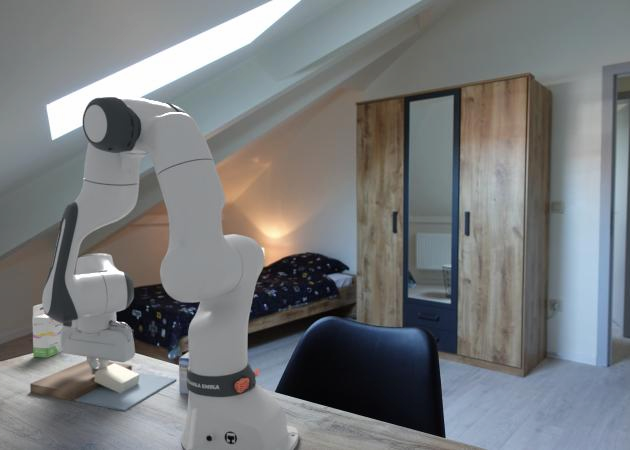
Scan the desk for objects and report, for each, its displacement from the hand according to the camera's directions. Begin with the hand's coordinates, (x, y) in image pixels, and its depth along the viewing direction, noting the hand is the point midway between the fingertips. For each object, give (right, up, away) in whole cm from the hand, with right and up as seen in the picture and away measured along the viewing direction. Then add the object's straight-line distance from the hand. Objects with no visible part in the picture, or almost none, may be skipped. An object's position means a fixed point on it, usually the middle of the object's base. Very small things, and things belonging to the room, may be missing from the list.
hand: (98, 374), depth 117 cm
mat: (+8, -3, -3) cm, 9 cm away
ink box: (-24, -1, +23) cm, 34 cm away
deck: (-5, -2, +2) cm, 6 cm away
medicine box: (+24, -3, -1) cm, 24 cm away
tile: (+5, -1, -2) cm, 5 cm away
